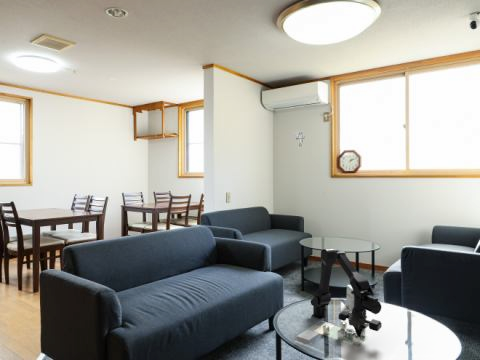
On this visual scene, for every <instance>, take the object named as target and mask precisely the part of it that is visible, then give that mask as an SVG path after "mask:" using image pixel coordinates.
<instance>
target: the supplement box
mask: <svg viewBox="0 0 480 360" xmlns="http://www.w3.org/2000/svg"><path fill="white" fill-rule="evenodd" d="M351 291H353V289H352V287H351V285H350V284H347V285H346V302H345V303H346V305H345V306H347V307H348V308H349V309H350V310H351V311H352V309H353V307H354V294H352V293H351ZM362 293H364V291H363V292H362Z"/></svg>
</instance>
